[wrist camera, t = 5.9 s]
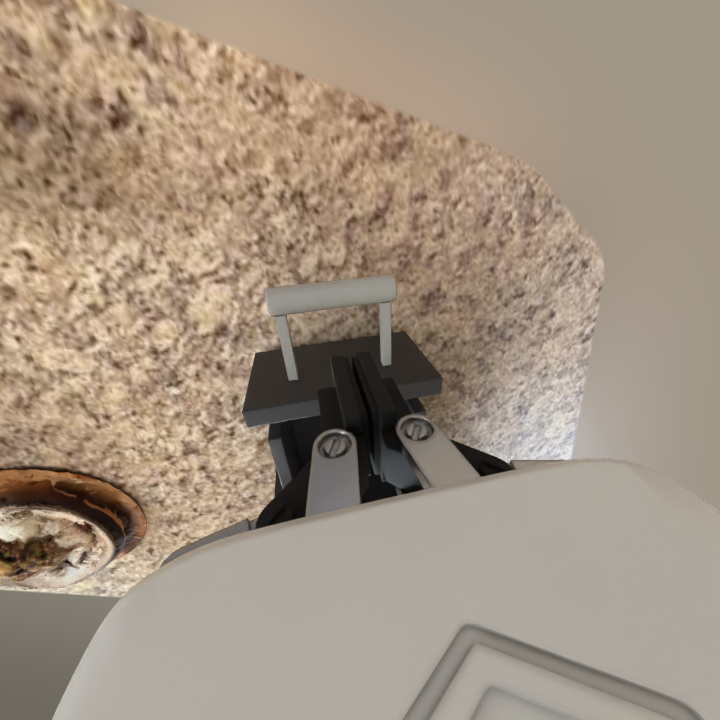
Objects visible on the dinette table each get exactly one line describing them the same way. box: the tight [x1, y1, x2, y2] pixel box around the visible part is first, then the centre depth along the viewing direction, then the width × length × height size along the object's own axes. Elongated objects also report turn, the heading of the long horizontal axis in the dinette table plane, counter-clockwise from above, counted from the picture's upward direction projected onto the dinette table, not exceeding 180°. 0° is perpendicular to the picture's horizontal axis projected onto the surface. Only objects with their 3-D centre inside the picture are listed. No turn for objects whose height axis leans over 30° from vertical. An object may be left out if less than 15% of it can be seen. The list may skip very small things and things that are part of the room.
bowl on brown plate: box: [0, 469, 146, 590], centre depth 25 cm, size 15×15×4 cm
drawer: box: [242, 274, 443, 504], centre depth 22 cm, size 19×12×7 cm, turn 3°
